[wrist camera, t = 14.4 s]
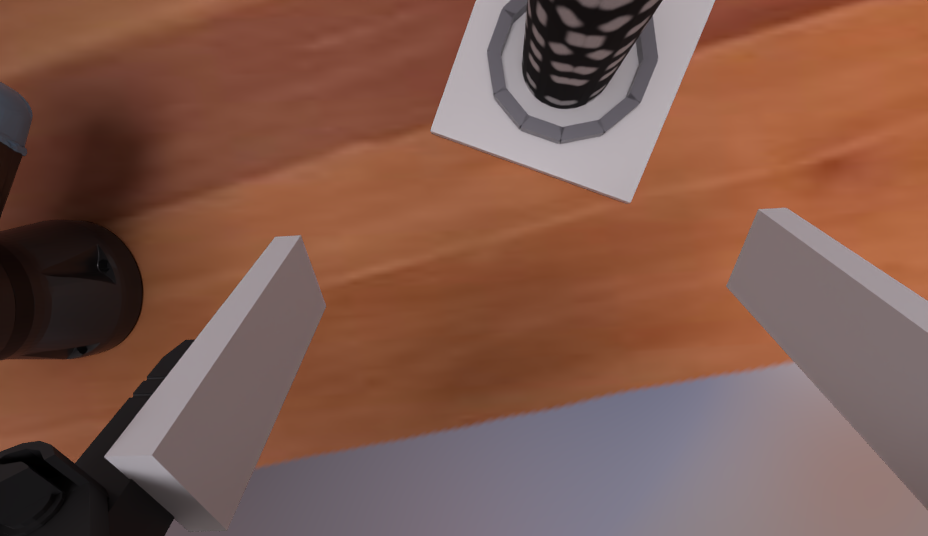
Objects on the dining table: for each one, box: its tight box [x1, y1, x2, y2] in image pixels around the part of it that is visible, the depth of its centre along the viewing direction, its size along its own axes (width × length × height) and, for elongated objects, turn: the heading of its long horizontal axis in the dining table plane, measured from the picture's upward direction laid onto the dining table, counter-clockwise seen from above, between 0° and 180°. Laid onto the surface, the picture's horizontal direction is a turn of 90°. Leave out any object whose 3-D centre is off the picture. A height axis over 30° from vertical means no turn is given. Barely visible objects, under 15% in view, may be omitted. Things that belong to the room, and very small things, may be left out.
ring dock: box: [430, 0, 715, 204], centre depth 35 cm, size 20×20×2 cm
